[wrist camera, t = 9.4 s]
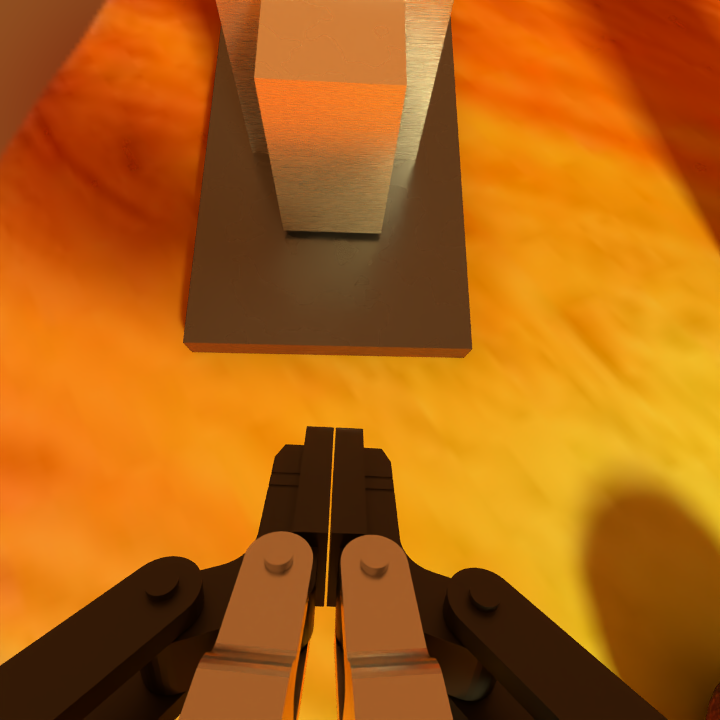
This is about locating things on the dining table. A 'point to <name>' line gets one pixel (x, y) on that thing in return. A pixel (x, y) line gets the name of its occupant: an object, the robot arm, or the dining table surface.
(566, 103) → the dining table surface
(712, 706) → the fruit
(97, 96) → the dining table surface
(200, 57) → the dining table surface
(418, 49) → the shaft housing
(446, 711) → the robot arm
